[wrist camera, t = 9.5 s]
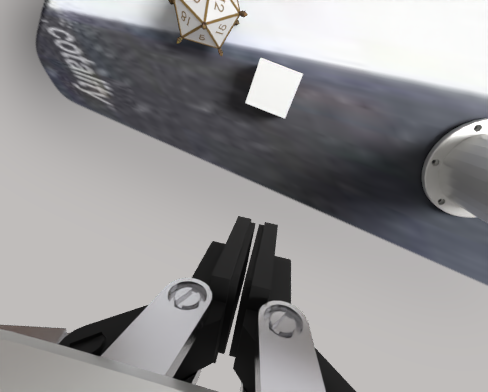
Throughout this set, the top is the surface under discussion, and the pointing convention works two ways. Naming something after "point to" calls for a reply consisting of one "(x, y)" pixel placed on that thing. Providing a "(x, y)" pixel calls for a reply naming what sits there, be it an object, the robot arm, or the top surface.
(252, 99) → the white block
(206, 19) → the game die
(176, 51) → the top surface
